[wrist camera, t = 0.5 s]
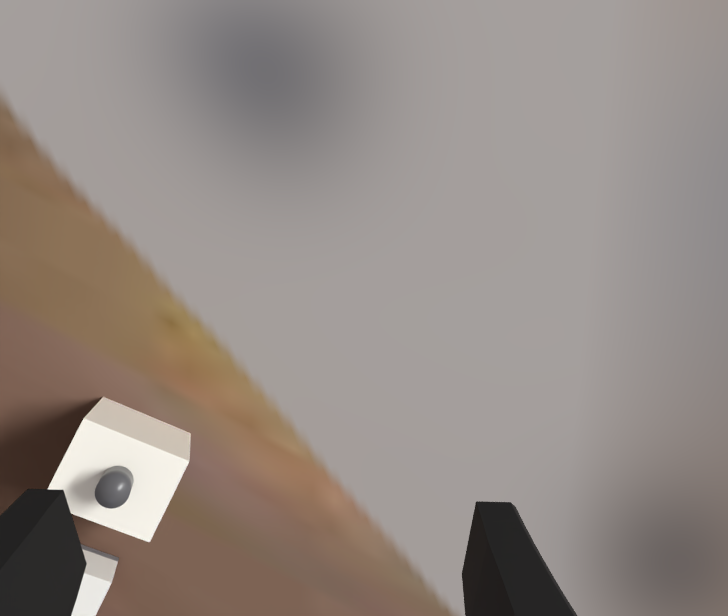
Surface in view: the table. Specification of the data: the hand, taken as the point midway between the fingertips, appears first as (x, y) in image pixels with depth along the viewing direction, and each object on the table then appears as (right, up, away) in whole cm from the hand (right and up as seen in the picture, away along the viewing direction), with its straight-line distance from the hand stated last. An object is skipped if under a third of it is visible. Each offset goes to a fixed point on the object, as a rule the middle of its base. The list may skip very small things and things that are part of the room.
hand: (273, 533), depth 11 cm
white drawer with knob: (-11, -4, +23) cm, 26 cm away
